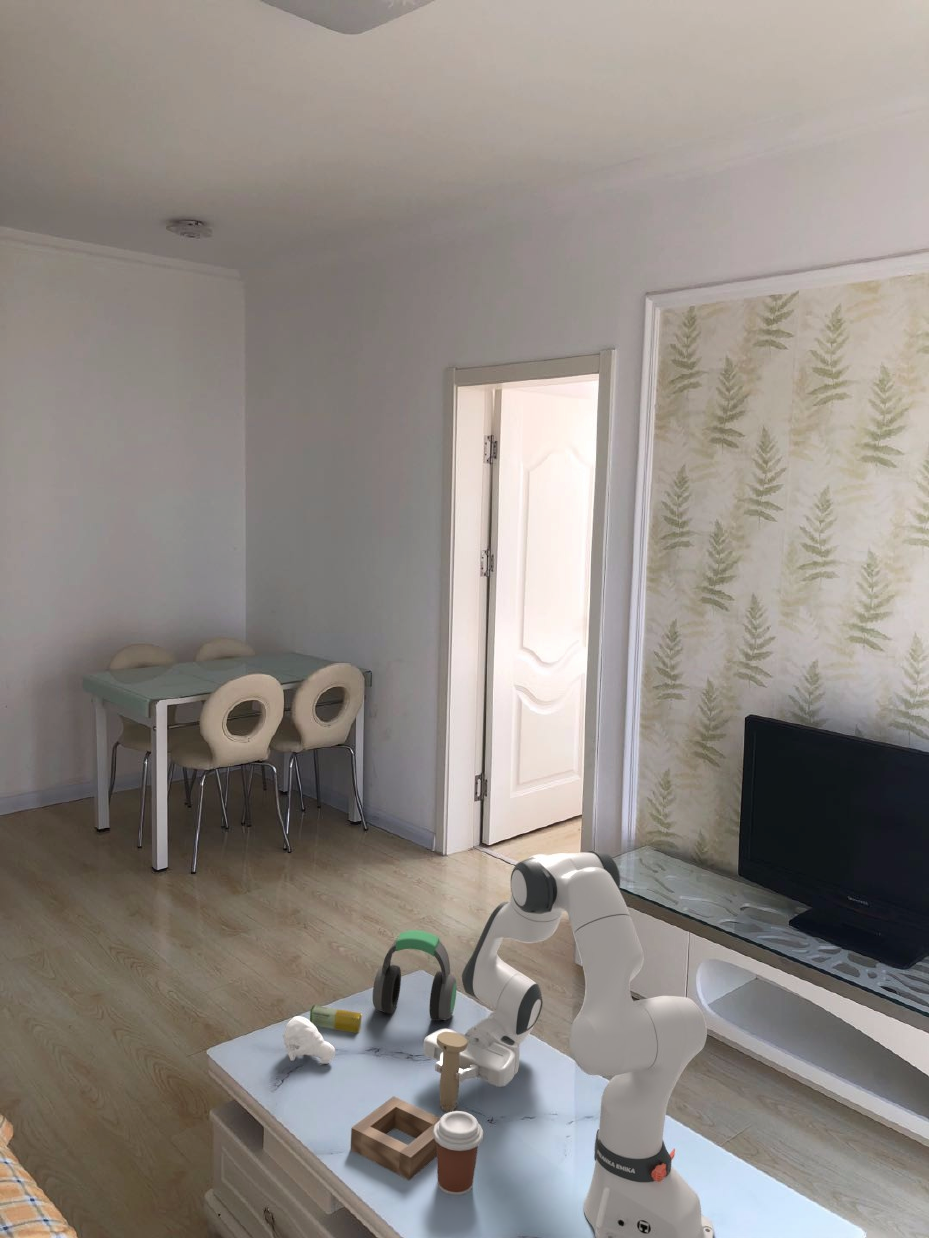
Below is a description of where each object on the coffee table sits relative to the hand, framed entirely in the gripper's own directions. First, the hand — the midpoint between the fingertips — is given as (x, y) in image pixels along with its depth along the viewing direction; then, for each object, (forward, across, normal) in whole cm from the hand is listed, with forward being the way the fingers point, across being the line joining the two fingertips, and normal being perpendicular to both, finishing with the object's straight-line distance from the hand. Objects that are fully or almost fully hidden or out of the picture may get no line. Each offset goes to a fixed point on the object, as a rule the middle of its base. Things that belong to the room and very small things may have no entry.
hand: (447, 1073), depth 205 cm
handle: (-1, 0, +8) cm, 8 cm away
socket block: (+15, 0, +8) cm, 17 cm away
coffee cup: (+17, +14, +8) cm, 24 cm away
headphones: (-27, -28, +8) cm, 40 cm away
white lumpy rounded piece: (+3, -34, +8) cm, 35 cm away
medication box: (-11, -39, +8) cm, 41 cm away
